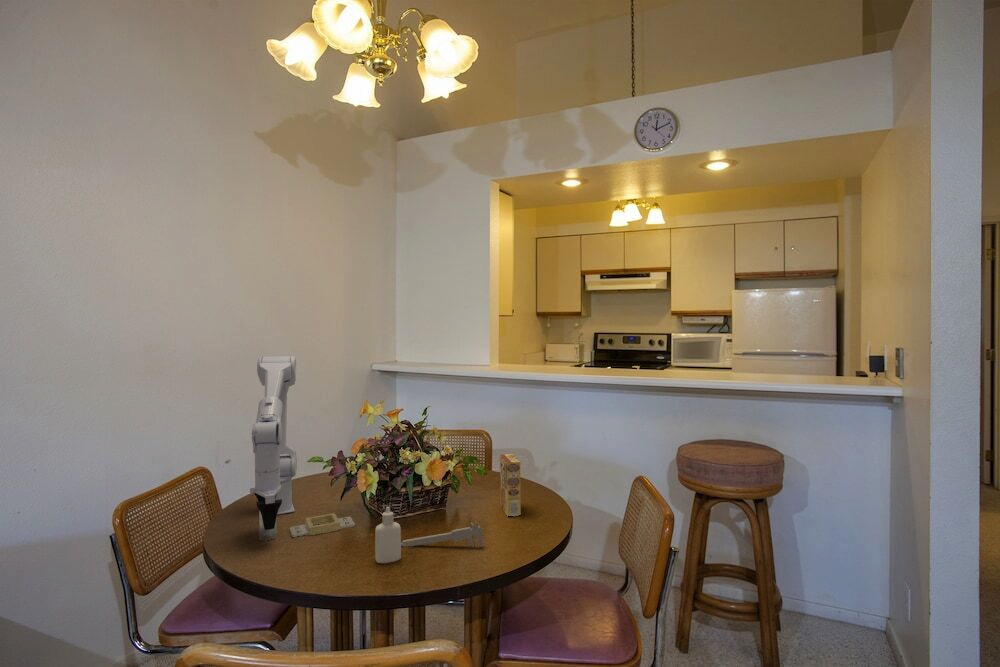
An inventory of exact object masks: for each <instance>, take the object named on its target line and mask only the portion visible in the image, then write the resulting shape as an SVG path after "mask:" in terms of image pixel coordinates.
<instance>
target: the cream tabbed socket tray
mask: <svg viewBox="0 0 1000 667" xmlns="http://www.w3.org/2000/svg"><path fill="white" fill-rule="evenodd" d="M304 523H305V524H300V525H294V526H290V527H289V532H290V535H291V537H294V538H298V537H297V536H300V537H303V535H305V536H309V537H310V536H311V537H312V536H315V535H316V534H317V535H321V533H322V534H327V533H332V532H338V531H341V530H342V529H349V528H352V527H353V526H354V527H356V522H354V520H353V518H352V517H351V516H344V517H340V518H338V516H337V514H336V513H334V512H332V513H327V514H322V515H317V516H316V515H315V516H310V517H305V521H304ZM318 524H319V525H318Z"/></svg>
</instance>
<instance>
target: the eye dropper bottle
mask: <svg viewBox="0 0 1000 667" xmlns="http://www.w3.org/2000/svg"><path fill="white" fill-rule="evenodd" d="M374 532H375V533H374V534H375V535H374V550H375V551H374V554H375V556H374V557H375V562H376V563H377V564H389V563H394V562H397V561H399V560H401V557H402V546H401V543H402V541H401V540H402V529H401V525H400V524H399V523H398V522H396V521H394V512H393V511H391V509H390V506H386V507H385V511H384V512H382V522H381V523H380V524H378V525H376V527H375V529H374Z"/></svg>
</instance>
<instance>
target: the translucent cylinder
mask: <svg viewBox="0 0 1000 667" xmlns="http://www.w3.org/2000/svg"><path fill="white" fill-rule="evenodd" d="M258 514H259V515H258V516H259V517H258V519H259V520H258V521H259V526H258V527H259V540H260V539H261V540H270V541H272V540H271V539H273V540H275V539H277V538H278V516H277V517H276V523H275V527H274V529H269V530H265V529H264V525H263V520H262V515H261V512H260V510H259V511H258ZM276 537H277V538H276ZM274 538H275V539H274ZM261 540H260V541H261Z"/></svg>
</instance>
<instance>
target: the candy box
mask: <svg viewBox="0 0 1000 667" xmlns="http://www.w3.org/2000/svg"><path fill="white" fill-rule="evenodd" d="M499 481H500V482H499V484H500V485H499V487H500V488H499V489H500V492H499V494H500V507H502V508H501V509H502V511H503V512H504V513H505V516H506V515H507V516H506V517H507V518H509V517H508V516H513V517H520V516H519V515H522V508H521V504H522V503H521V501H522V500H521V499H522V498H521V461H520V459H519V458H517V457H516V455H514V454H513V453H510V454H509V453H508V454H506V453H505V454H500V455H499Z"/></svg>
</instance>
